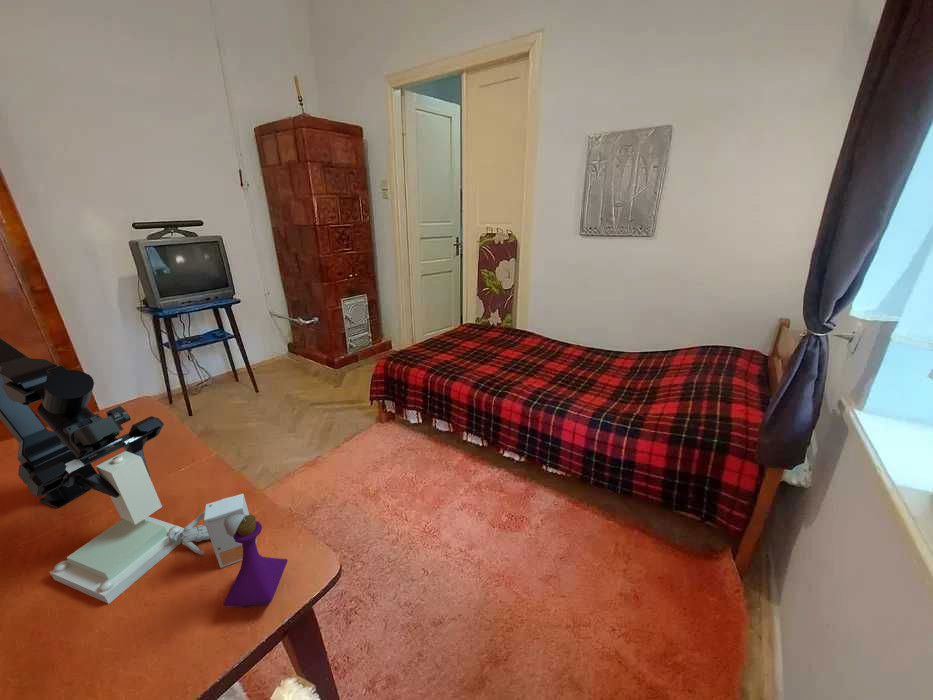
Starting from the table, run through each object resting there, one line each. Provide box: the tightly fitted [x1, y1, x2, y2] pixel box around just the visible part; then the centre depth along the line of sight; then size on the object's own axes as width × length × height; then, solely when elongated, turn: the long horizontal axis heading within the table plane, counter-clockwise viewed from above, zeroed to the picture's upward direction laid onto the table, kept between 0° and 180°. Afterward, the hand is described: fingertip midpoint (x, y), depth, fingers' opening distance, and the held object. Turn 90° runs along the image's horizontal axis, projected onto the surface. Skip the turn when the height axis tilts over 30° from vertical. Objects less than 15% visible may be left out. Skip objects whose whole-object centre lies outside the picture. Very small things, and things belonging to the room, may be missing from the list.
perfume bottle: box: [222, 513, 288, 608], centre depth 61 cm, size 8×8×18 cm
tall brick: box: [95, 450, 163, 525], centre depth 69 cm, size 5×5×13 cm
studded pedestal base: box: [49, 515, 185, 605], centre depth 70 cm, size 14×14×4 cm
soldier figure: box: [169, 510, 210, 556], centre depth 73 cm, size 8×5×12 cm
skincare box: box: [203, 493, 250, 569], centre depth 69 cm, size 6×4×12 cm
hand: (133, 487), depth 69 cm, fingers closed on tall brick, 5 cm apart
